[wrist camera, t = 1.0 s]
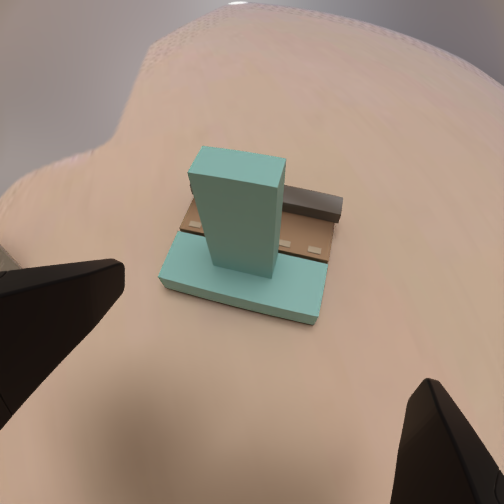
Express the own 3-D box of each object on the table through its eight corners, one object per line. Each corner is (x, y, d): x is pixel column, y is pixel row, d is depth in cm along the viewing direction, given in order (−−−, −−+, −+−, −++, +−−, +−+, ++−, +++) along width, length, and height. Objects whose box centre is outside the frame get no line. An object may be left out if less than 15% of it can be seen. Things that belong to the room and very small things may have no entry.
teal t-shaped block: (313, 325, 22) (356, 242, 12) (165, 287, 24) (105, 192, 14) (323, 275, 24) (361, 172, 14) (183, 243, 26) (143, 137, 16)
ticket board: (326, 274, 25) (335, 253, 22) (182, 242, 27) (172, 218, 24) (336, 212, 28) (344, 188, 25) (207, 187, 30) (202, 161, 27)
